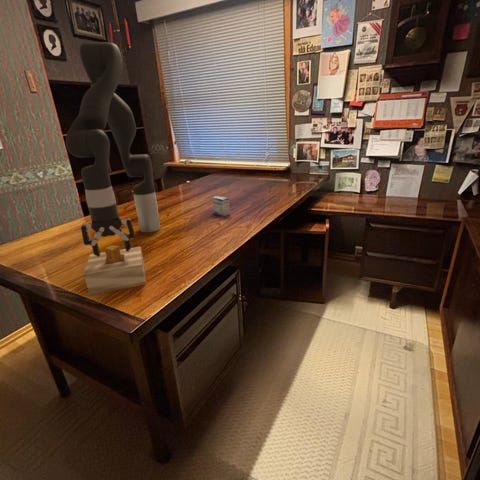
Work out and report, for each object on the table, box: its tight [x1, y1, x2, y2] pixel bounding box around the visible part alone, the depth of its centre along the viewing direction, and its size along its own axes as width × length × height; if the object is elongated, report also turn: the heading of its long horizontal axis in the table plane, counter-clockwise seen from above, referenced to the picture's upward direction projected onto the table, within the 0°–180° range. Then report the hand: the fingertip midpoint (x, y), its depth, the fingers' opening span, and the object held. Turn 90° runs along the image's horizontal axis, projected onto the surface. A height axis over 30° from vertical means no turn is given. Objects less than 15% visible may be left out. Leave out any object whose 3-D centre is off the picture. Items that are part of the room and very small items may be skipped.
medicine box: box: [211, 195, 230, 217], centre depth 153 cm, size 8×4×9 cm, turn 47°
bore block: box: [83, 246, 147, 296], centre depth 95 cm, size 14×16×7 cm
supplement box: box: [104, 245, 123, 264], centre depth 94 cm, size 3×3×10 cm
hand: (113, 253), depth 93 cm, fingers open, 8 cm apart
